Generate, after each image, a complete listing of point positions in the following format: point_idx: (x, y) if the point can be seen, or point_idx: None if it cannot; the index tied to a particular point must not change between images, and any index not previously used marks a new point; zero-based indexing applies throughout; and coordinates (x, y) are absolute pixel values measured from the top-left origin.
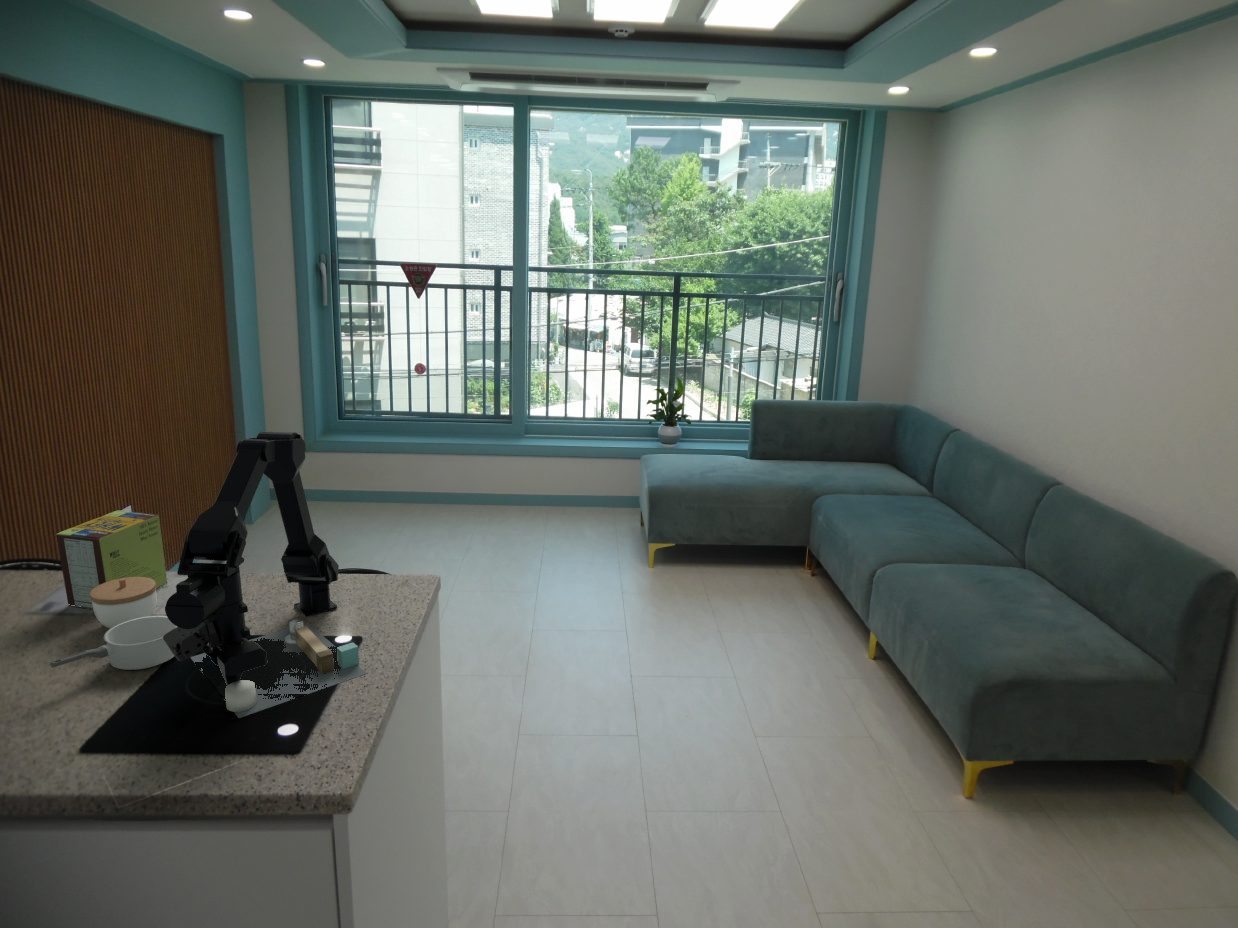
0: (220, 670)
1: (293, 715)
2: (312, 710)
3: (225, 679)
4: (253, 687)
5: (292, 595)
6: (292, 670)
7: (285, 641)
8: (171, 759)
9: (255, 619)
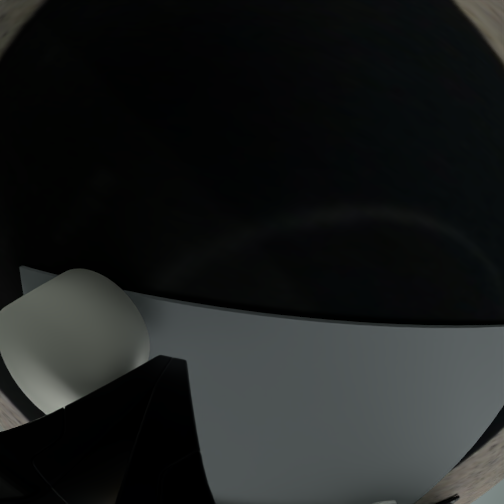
0: (189, 446)
1: (4, 364)
2: (14, 394)
3: (126, 393)
4: (30, 398)
5: (479, 486)
6: (224, 491)
7: (382, 501)
8: (3, 38)
9: (497, 453)
